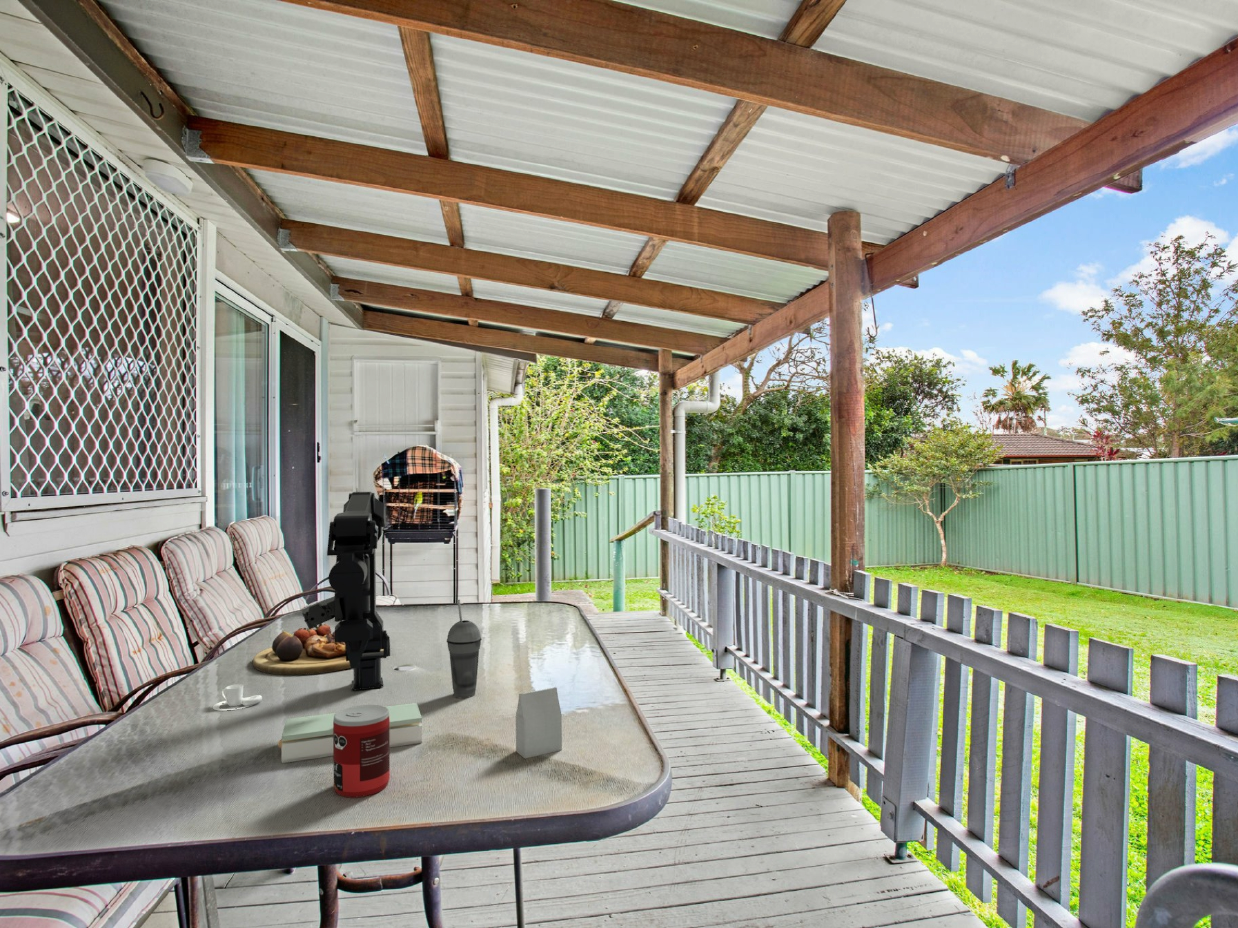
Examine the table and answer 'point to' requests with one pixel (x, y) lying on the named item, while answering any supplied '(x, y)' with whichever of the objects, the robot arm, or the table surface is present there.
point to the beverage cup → (464, 656)
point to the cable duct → (325, 744)
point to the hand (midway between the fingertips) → (353, 667)
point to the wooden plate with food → (303, 653)
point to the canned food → (361, 750)
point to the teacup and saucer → (236, 698)
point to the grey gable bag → (538, 723)
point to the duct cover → (324, 723)
